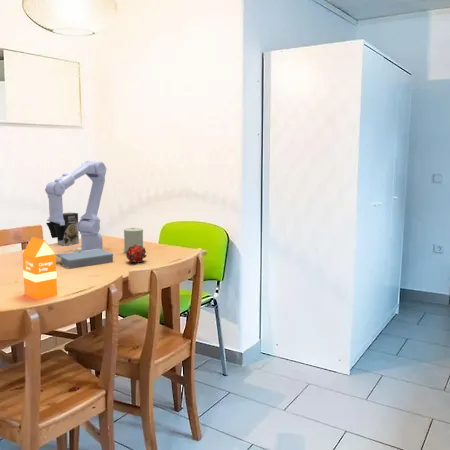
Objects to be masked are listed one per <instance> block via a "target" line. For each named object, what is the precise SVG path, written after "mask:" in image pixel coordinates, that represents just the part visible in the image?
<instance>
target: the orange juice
mask: <svg viewBox="0 0 450 450" xmlns="http://www.w3.org/2000/svg"><path fill="white" fill-rule="evenodd" d="M21 254H22V269H23V271H22V272H23V273H22V274H23V286H24V287H23V289H24V290H23V291H24V295H26V294H27V295H26V296H28V295H29V296H28V297H30V296H31V297H30V298H32V297H33V298H32V299H35V300H41V299H44V298H49V297H54V296H57V295H58V283H57V280H58V279H57V262H56V261H57V260H56V257H57V256H56V252H54V250H53V249H52V248H51V247H50V245H49V244H48V242H47V241H46V240H45V239H43V238H39V237H36V236H31V239H30V240H29V242H28V244H27V245H26V248H25V249H24V251H23V252H22V253H21Z"/></svg>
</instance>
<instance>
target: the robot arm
mask: <svg viewBox="0 0 450 450" xmlns="http://www.w3.org/2000/svg"><path fill="white" fill-rule="evenodd" d="M106 173H107V167H106V165H105V163H104V162H103V161H90V160H89V161H88V160H86V161H84V162H82V163H81V165H80V166H79V167H77V168H76V169H75V170H73V172H71V173H63V174H62V176H59V178H56V179H54V181H50V182H48V183H47V184H46V186H45V188H44V190H45V194H47V198H48V209H49V210H48V211H49V216H48V219H46V221H47V222H46V226H47V228H48V230H49V233H50V236H51V239H57V242H58V241H62V240H63V238H64V233H65V230H66V228H67V225H65V221H64V219H63V213H64V212H63V211H64V208H63V207H64V206H63V205H64V204H63V195H64V194H65V191H66V190H68V189H69V188H70V187H72V186H73V185H75V181H76V180H77V179H79V178H82V177H83V176H85V175H86V176H87V177H88V178H89V179H90V180H91V182H92V185H91V188H90V191H89V192H90V194H89V196H88V199H87V201H88V202H87V205H86V209H85V213H84V214H83V215H81V216H80V219H79V220H78V225H77V229H78V232H79V235H80V236H81V237H80V238H81V249H82V251H86V250H93V249H101V250H104V249H103V236H102V234H101V233H99V232H100V230H101V224H100V223H101V219H100V217H98V212H99V208H100V204H101V199H102V195H103V191H104V187H105V182H106Z"/></svg>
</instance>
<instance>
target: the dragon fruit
mask: <svg viewBox="0 0 450 450" xmlns="http://www.w3.org/2000/svg"><path fill="white" fill-rule="evenodd" d="M125 257H126V258H127V260H128V261H129V263H130V264H134V263H133V262H135V263H137V262H138V263H139V262H140V263H142V262H143V261H144V260H143V259H145V258H146V257H147V254H146V248H145V247H144V246H143V247H142V245H139V246H138V245H136V244H135V245H134V246H131V247H129V249H128V250H127V252H126V254H125Z"/></svg>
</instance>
